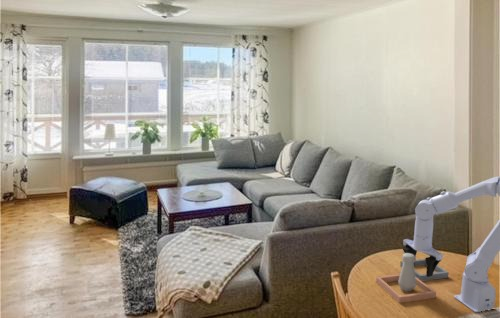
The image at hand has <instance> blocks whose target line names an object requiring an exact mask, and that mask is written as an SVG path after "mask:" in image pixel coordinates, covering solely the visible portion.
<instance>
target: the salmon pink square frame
mask: <svg viewBox="0 0 500 318" xmlns="http://www.w3.org/2000/svg"><path fill="white" fill-rule="evenodd" d="M399 277H400V273H398V274H391V275H390V274H389V275H381V276H376V278H375V279H376V280H375V283H376V284H377V285H379V286H380V287H381V288H382V289H383V290H384V291H386V293H387V294H388V295H390V296H391V297H392V298H393V299H394V300H395V301H396V302H397V303H398V304H400V303H401V304H402V303H407V302H415V301H421V300H429V299H436V298H437V292H436V291H435V290H434V289H433V288H431V287H430V286H428V285H427V284H426V283H425V282H423V281H421V280H419V279H418V278H417V277H415V278H416V286H417V287H419V288H420V290H422V291H424V292H416V293H408V294H399V293H398V292H397V291H396V290H395V289H394V288H393V287H391V286H390V285H389V284H388V283H390V282H392V283H393V282H398V281H399Z"/></svg>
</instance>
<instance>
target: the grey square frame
mask: <svg viewBox="0 0 500 318" xmlns="http://www.w3.org/2000/svg"><path fill="white" fill-rule="evenodd" d="M403 262H404V261H403V260H402V261H400V267H401V268H402V266H403ZM425 265H426V260H425V258H420V259H416V260H415V264H414V267H416V266H425ZM426 266H427V265H426ZM414 270H415V277H417V278H418V279H419V280H421V281H422V282H423V281H430V280H439V279H445V278H447V279H448V278H449V271H448V270H446V269H444V268H443V267H441V266H440V265H439V264H438V265H437V266H436V268H435V270H434V272H433V275H432V276H430V277H427V275H426V273H423V274H422V273H420V272H418V271H417V270H416V269H414Z"/></svg>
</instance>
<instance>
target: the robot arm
mask: <svg viewBox="0 0 500 318" xmlns="http://www.w3.org/2000/svg"><path fill="white" fill-rule="evenodd" d="M484 195H487V196H490V197H494V198H495V197H497V195H498V196H499V197H500V176H499V175H498V176H494V177H491V178H488V179H486V180H483V181H481V182H478V183H476V184H473V185H471V186H469V187H466V188H463V189H462V190H459V191H457V192H453V191H445V190H443V191H441V192H440V194H438V195H434V196H433V197H429V196H428V197H427V198H426V199H422V200H421V201H419V202H418V204H416V206H415V209H414V213H415V222H414V230H413V231H414V232H413V233H414V234H413V240H411V239H409V238H406V239H403V242H402V243H403V246H404V247H403V248H402V251H403V254H405V253H411V254H413V255H414V256H415V257H416V255H417V252H420V253H422V254H425V255H427V256H428V257H425V258H424V259H425V260H426V270H425V271H426V272H425V274H426V275H427V277H430V276H432V275H433V273H435V268H436V266H437V265H438V266H439V263H441V261H442V260H443V253H441V252H439V250H436V249H435V248H434V247H433V234H434V215H440V214H442V213H445V212H448V211H451V210H454V209H456V208H458V207H459V204H460V203H462V202H465V201H468V200H471V199H474V198H478V197H481V196H484ZM499 252H500V218H499V220H498V221H497V222H496V224H495V225H494V227H493V228H492V229H491V230H490V232H489V233H488V234H487V236H486V238H485V239H484V241H483V242H482V243H481V245H480V246H479V247H478V248H476V250H475V251H474V252H473V253H470V254H469V255H468V256H467V257H466V262H465V263H466V264H465V267H464V271H463V273H462V278H461V279H462V280H461V288H460V294H455V295H453V296H454V297H453V298H455V299H456V300H458V301H459V302H460V303H461V304H463V305H464V306H466V307H467V308H469V309H470V310H471V311H473V312H474V313H482V312H486V311H485V310H488V309H492V308H496V309H497V307H495V303H496V296H497V291H496V288H495V287H494V286H493V285H492V284H491V283H490V281H489V276H488V273H489V272H488V271H489V269H490V267H491V266H492V264H493V262H494V259H495V257H496V256H497V255H498V253H499ZM416 258H417V257H416ZM414 264H415V262H414ZM481 311H482V312H481ZM488 311H489V310H488Z"/></svg>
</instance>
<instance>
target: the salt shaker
mask: <svg viewBox="0 0 500 318" xmlns="http://www.w3.org/2000/svg"><path fill="white" fill-rule="evenodd" d="M401 258H402V259H401V260H402V261H404V262H403V266H402V267H401V270H400V272H399V274H400V277H399V281H397V283H398V286H399V287H400V290H401V291H403V292H405V293H411V292H413V290H414V289H415V288H416V286H417V285H416V278H415V270H416V269H415V266H414V262H415V260H417V257H415V256H414V255H413V254H411V253H403V254H402V257H401Z"/></svg>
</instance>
